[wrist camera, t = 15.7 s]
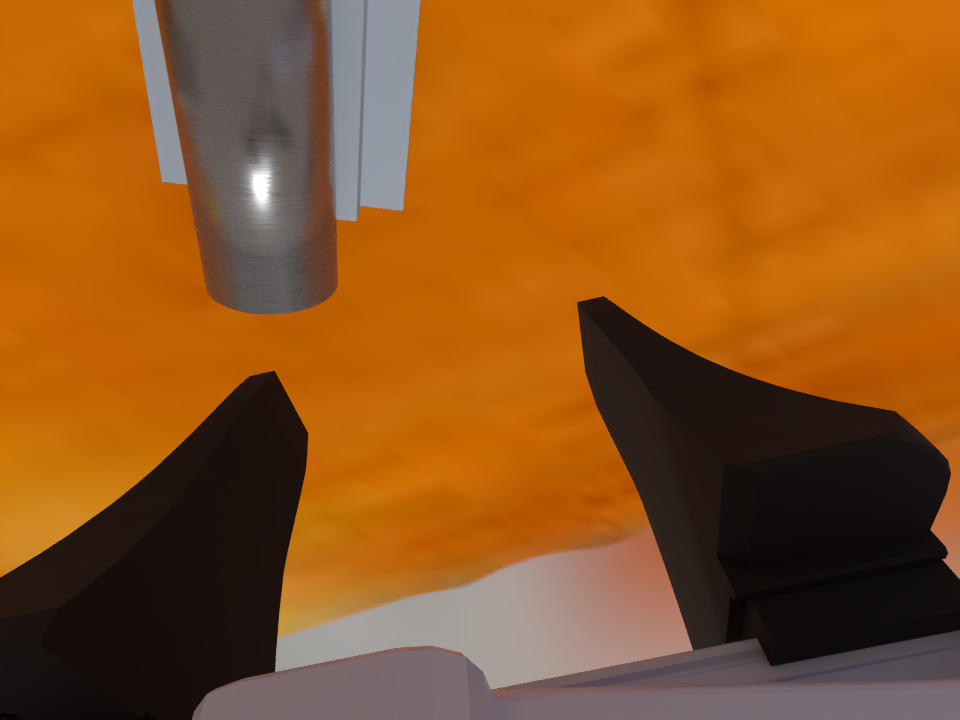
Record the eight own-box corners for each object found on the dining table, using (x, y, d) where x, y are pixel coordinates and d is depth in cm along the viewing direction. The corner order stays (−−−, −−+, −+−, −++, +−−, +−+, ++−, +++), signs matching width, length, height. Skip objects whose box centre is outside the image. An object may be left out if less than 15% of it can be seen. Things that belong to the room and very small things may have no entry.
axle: (133, -138, 13) (120, -152, 10) (312, -105, 14) (346, -107, 11) (204, 257, 19) (208, 320, 16) (325, 250, 20) (349, 307, 17)
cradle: (422, -25, 17) (422, -24, 15) (403, 201, 21) (401, 226, 19) (134, -80, 15) (91, -88, 13) (172, 172, 19) (144, 196, 17)
